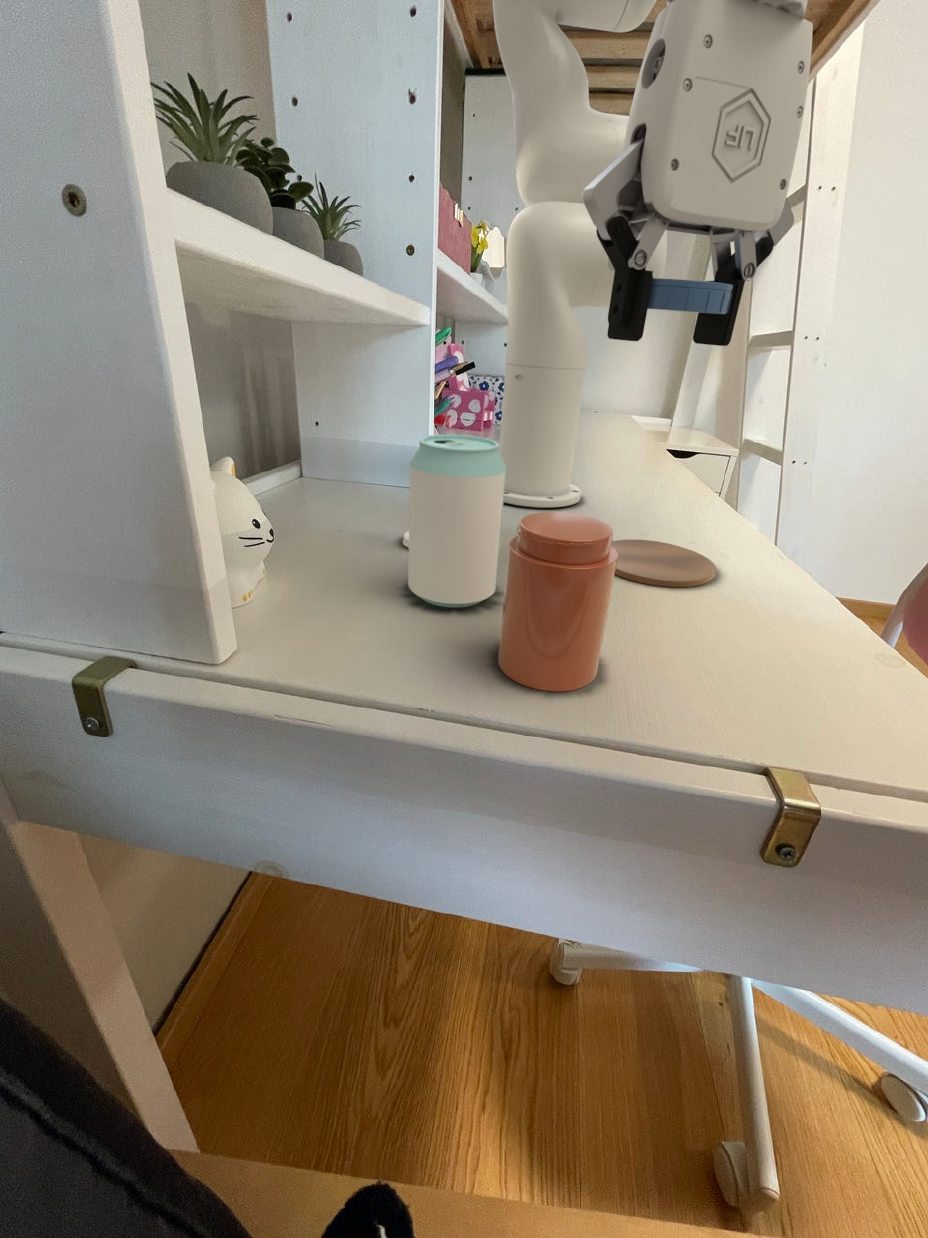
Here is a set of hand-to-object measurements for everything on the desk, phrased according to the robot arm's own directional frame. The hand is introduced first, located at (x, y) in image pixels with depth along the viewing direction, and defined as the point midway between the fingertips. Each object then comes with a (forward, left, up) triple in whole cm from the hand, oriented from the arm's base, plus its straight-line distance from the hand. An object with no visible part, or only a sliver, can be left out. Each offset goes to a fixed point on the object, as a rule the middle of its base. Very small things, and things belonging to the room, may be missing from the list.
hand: (668, 339), depth 41 cm
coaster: (-5, +7, -19) cm, 21 cm away
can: (-2, -14, -20) cm, 24 cm away
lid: (0, 0, +3) cm, 3 cm away
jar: (+10, -11, -19) cm, 24 cm away
